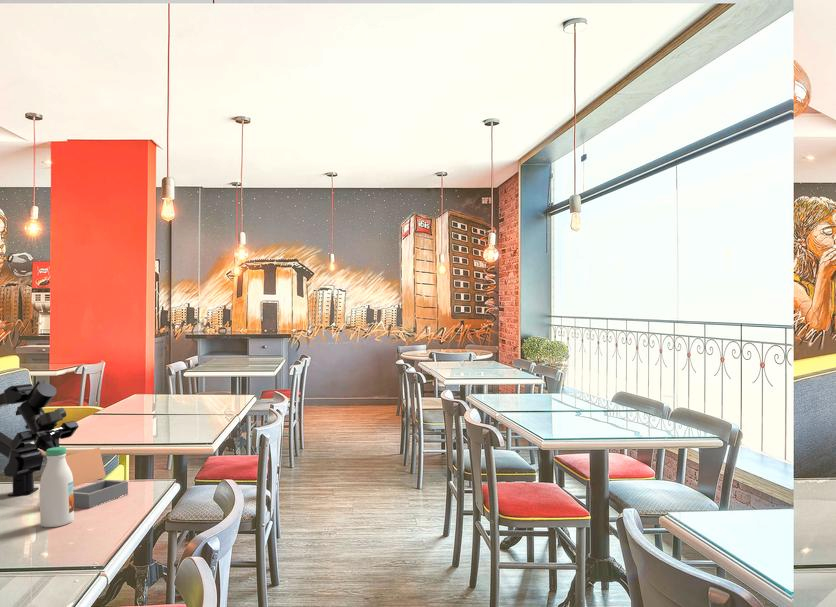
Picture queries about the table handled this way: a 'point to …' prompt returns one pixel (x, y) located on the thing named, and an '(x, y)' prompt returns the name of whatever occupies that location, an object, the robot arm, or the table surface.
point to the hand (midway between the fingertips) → (58, 456)
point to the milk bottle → (56, 490)
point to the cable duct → (99, 493)
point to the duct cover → (86, 466)
